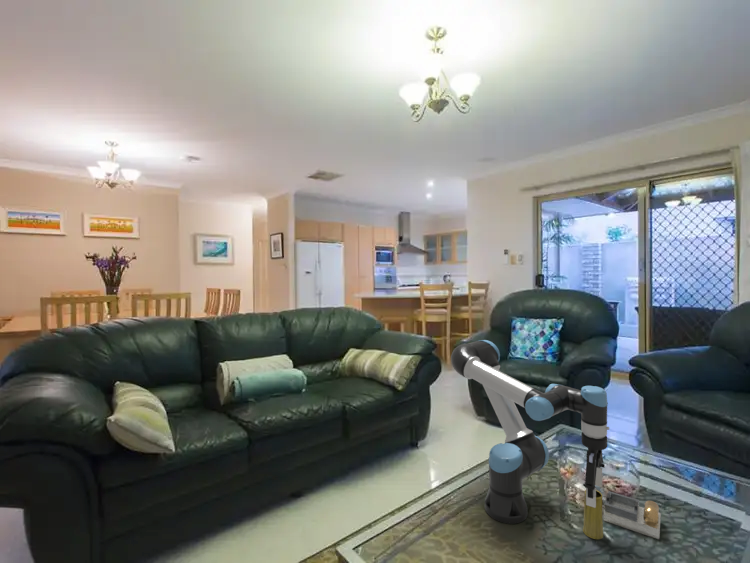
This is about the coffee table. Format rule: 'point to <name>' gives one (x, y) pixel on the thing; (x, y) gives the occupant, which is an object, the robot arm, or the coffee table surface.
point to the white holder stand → (632, 514)
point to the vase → (593, 518)
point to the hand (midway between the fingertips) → (594, 495)
